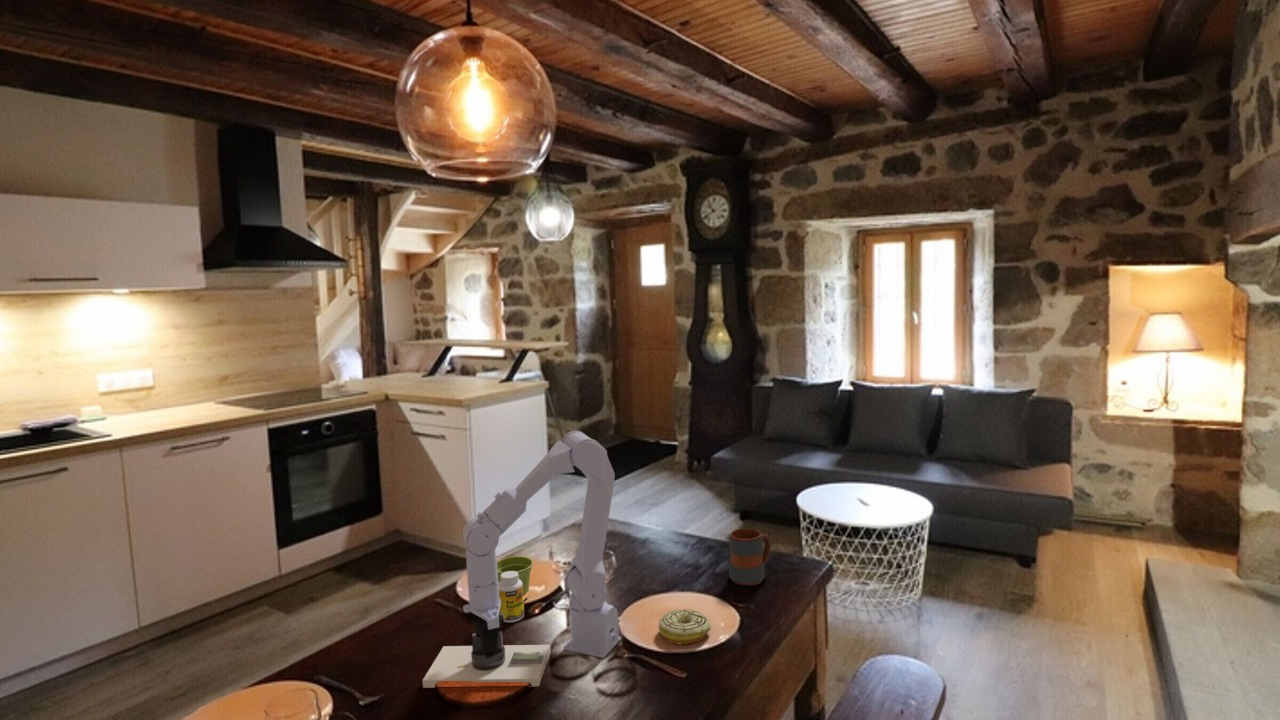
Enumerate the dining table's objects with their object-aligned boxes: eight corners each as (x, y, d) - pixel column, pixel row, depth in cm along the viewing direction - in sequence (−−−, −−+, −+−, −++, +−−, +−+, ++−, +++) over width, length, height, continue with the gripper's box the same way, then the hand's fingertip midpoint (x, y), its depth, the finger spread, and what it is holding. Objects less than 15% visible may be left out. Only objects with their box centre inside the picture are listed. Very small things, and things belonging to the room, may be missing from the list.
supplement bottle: (505, 626, 151) (502, 581, 150) (495, 616, 155) (492, 573, 154) (528, 618, 154) (525, 575, 153) (518, 609, 158) (515, 567, 157)
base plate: (550, 651, 140) (549, 635, 139) (539, 686, 128) (538, 668, 127) (444, 653, 141) (442, 637, 140) (423, 687, 129) (421, 670, 128)
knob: (507, 650, 137) (505, 623, 137) (503, 668, 131) (501, 640, 130) (474, 653, 137) (472, 626, 136) (469, 671, 131) (467, 643, 130)
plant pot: (527, 608, 159) (525, 572, 158) (489, 607, 160) (486, 571, 159) (540, 590, 168) (538, 556, 167) (503, 589, 169) (501, 555, 168)
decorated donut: (720, 633, 144) (720, 616, 144) (685, 653, 137) (684, 635, 137) (685, 616, 152) (684, 600, 152) (649, 634, 145) (649, 617, 144)
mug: (782, 577, 169) (781, 531, 168) (744, 590, 163) (743, 543, 162) (759, 565, 177) (758, 522, 175) (722, 577, 171) (721, 532, 169)
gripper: (455, 571, 137) (459, 636, 138) (469, 600, 124) (475, 671, 125) (490, 564, 140) (494, 627, 141) (508, 592, 127) (512, 661, 128)
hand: (487, 647), depth 134 cm, fingers closed on knob, 3 cm apart
